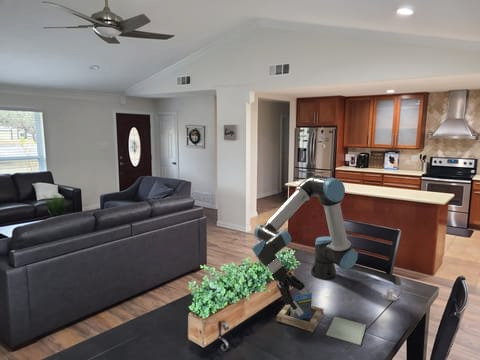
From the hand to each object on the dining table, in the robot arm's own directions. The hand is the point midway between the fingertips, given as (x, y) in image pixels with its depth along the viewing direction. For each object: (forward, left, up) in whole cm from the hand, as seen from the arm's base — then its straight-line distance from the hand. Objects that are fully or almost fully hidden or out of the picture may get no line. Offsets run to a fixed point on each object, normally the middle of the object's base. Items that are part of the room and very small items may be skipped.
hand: (306, 307), depth 156 cm
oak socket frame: (0, -2, -5) cm, 6 cm away
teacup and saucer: (-41, +30, -6) cm, 51 cm away
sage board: (0, +19, -5) cm, 19 cm away
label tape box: (0, -2, -6) cm, 6 cm away
